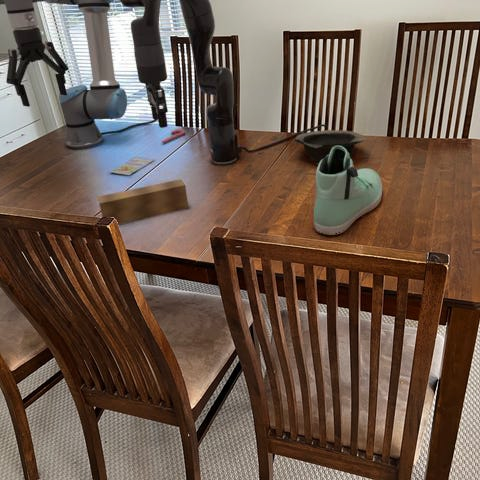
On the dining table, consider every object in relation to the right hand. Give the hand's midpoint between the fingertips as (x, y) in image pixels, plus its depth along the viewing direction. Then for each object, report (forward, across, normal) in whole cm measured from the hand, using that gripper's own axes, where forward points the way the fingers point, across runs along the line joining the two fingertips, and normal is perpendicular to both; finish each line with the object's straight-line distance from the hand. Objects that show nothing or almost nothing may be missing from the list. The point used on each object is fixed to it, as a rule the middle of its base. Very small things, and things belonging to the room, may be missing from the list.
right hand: (160, 122), depth 133 cm
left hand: (-3, +35, +29) cm, 46 cm away
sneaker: (+27, -25, -46) cm, 59 cm away
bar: (+27, 0, +8) cm, 28 cm away
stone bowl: (+27, +13, -61) cm, 68 cm away
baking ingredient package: (+27, +40, +6) cm, 48 cm away
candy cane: (+27, +63, -15) cm, 70 cm away
